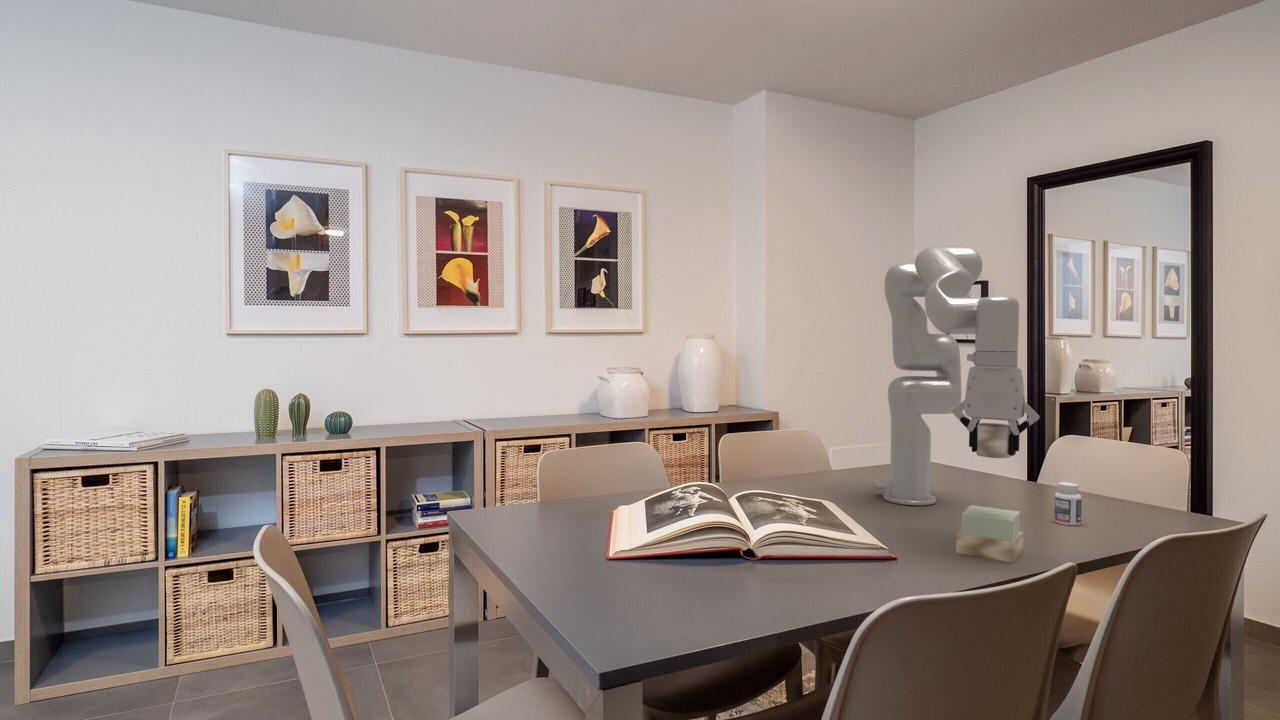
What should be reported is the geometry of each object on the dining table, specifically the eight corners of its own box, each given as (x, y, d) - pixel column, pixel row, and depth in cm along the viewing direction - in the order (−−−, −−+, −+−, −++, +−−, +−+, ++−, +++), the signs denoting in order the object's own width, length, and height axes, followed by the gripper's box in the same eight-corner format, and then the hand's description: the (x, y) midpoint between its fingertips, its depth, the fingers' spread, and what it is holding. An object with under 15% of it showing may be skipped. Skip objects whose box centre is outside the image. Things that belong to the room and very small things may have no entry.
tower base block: (955, 554, 142) (956, 534, 142) (968, 543, 150) (969, 523, 150) (1012, 564, 136) (1013, 543, 136) (1022, 552, 144) (1023, 532, 144)
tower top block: (960, 534, 142) (961, 513, 142) (970, 524, 149) (970, 505, 149) (1012, 542, 137) (1012, 521, 137) (1019, 531, 144) (1020, 511, 144)
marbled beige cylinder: (973, 455, 142) (974, 425, 142) (980, 451, 147) (981, 422, 147) (1007, 459, 138) (1008, 427, 138) (1013, 455, 143) (1014, 424, 143)
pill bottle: (1074, 520, 167) (1075, 481, 167) (1085, 526, 162) (1086, 486, 162) (1049, 519, 168) (1050, 481, 168) (1060, 525, 163) (1061, 486, 162)
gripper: (944, 360, 144) (942, 450, 145) (1043, 362, 134) (1040, 460, 134) (954, 358, 150) (951, 446, 151) (1049, 361, 140) (1046, 455, 140)
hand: (993, 452), depth 143 cm, fingers closed on marbled beige cylinder, 6 cm apart
